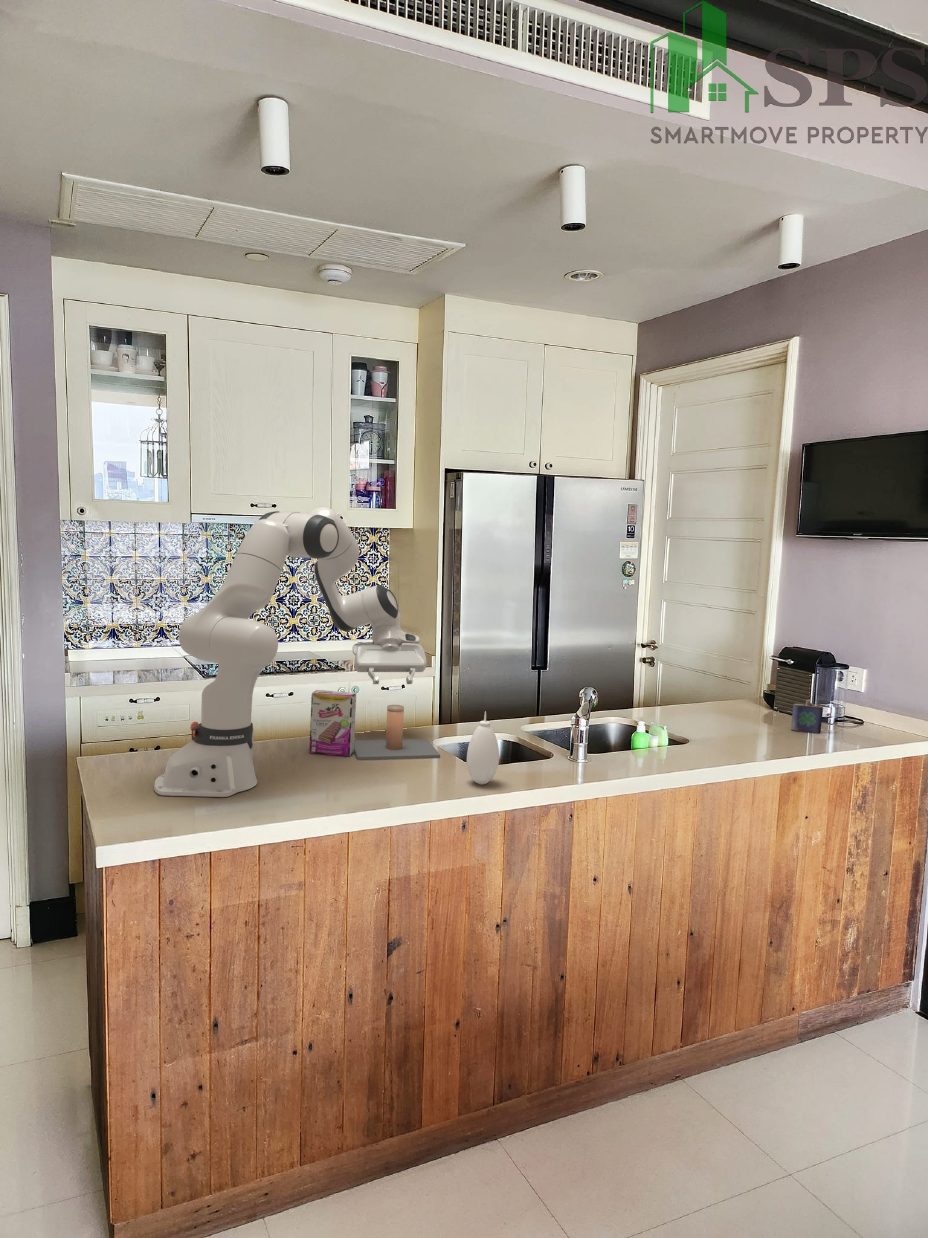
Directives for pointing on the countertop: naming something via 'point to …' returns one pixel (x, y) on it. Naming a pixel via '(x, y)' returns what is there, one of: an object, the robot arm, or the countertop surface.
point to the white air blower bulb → (483, 753)
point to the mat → (408, 751)
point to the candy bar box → (332, 723)
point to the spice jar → (394, 727)
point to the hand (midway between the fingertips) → (393, 683)
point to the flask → (807, 718)
